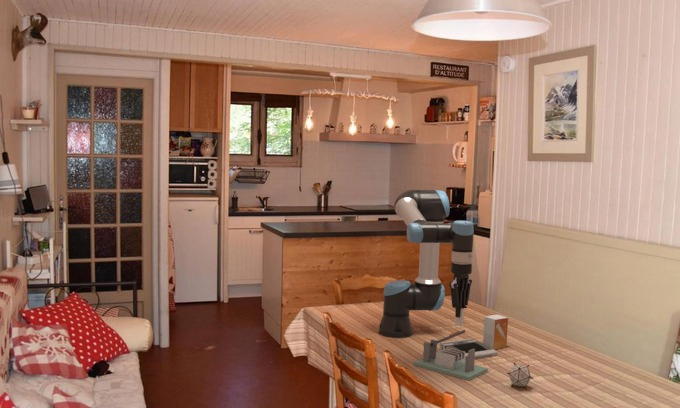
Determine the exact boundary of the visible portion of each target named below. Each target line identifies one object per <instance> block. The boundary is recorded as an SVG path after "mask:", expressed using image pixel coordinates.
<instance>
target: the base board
mask: <svg viewBox="0 0 680 408" xmlns="http://www.w3.org/2000/svg"><path fill="white" fill-rule="evenodd" d="M436 341H438V339H437V340H436V339H433V338H432V339H430V342H428V341H424V342H423V356H422V357H423V358H421V359H418V360H415V361H413V363H412V365H413V366H414V367H419V368H423V369H426V370H429V371H432V372H437V373H440V374H444V375H448V376H452V377H454V378H459V379H463V380H466V381H471V380H473V379H475V378H477V377H479V376H481V375H483V374H485V373H487V372H488V371H489V368H488V367H484V366H481V365H477V364H475V360H476V359H475V349H471V350H469V351H468V355H467V356H466V357H465V365H464V366H462V367H460V368H458V369H455V370H450V369H446V368H442V367H439V366H435V358H436V351H438V344H436V345H434V346H431V343H433V342H436Z"/></svg>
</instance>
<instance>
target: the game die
mask: <svg viewBox="0 0 680 408" xmlns="http://www.w3.org/2000/svg"><path fill="white" fill-rule="evenodd" d="M529 367H530V364H527V366H526V365H521V364H520V365H519V364H516V362H513V367H512V368H511V370H510V371H509V372H506V375H508V376H509V379H510V381H511V385H510V387H512V388H513V386H516V387H520V388H521V387H523V388H524V389H525V390H527V386H528V384H529V382H530V381H531V379H532V380H533V379H534V377H532V376H531V372H530V370H529Z"/></svg>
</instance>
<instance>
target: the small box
mask: <svg viewBox="0 0 680 408" xmlns="http://www.w3.org/2000/svg"><path fill="white" fill-rule="evenodd" d="M483 319H484V320H483V335H482V336H483V337H482V343H483V344H485V345H486V346H488V347H490V348H491V349H494V350H495V351H496V350H500V349H506V348H507V346H508V345H507V343H508V341H507V340H508V327H509V326H508V325H509V317H507V316H504V315H500V314H492V315H491V314H490V315H486V316H484V317H483Z"/></svg>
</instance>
